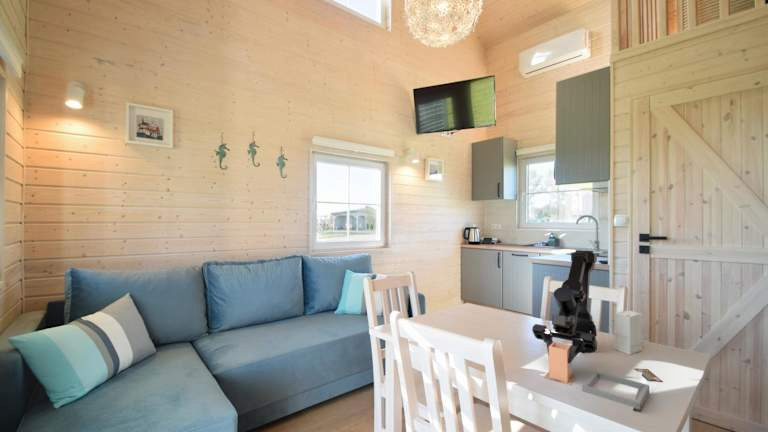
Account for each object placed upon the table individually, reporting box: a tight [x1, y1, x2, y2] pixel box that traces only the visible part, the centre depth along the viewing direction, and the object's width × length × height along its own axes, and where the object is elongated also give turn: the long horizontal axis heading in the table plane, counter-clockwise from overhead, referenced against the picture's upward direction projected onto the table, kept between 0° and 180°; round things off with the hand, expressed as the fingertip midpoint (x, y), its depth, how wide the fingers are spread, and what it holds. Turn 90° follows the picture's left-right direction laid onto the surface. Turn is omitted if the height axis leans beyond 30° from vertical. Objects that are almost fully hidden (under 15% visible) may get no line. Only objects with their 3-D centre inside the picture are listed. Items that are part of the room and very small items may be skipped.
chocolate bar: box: [633, 367, 664, 383], centre depth 117 cm, size 11×5×1 cm, turn 168°
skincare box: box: [614, 309, 643, 355], centre depth 138 cm, size 8×6×15 cm
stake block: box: [543, 371, 578, 386], centre depth 114 cm, size 8×8×5 cm
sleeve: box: [548, 341, 573, 382], centre depth 114 cm, size 5×5×10 cm
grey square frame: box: [581, 370, 650, 413], centre depth 105 cm, size 14×14×2 cm
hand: (559, 360), depth 113 cm, fingers closed on sleeve, 5 cm apart
